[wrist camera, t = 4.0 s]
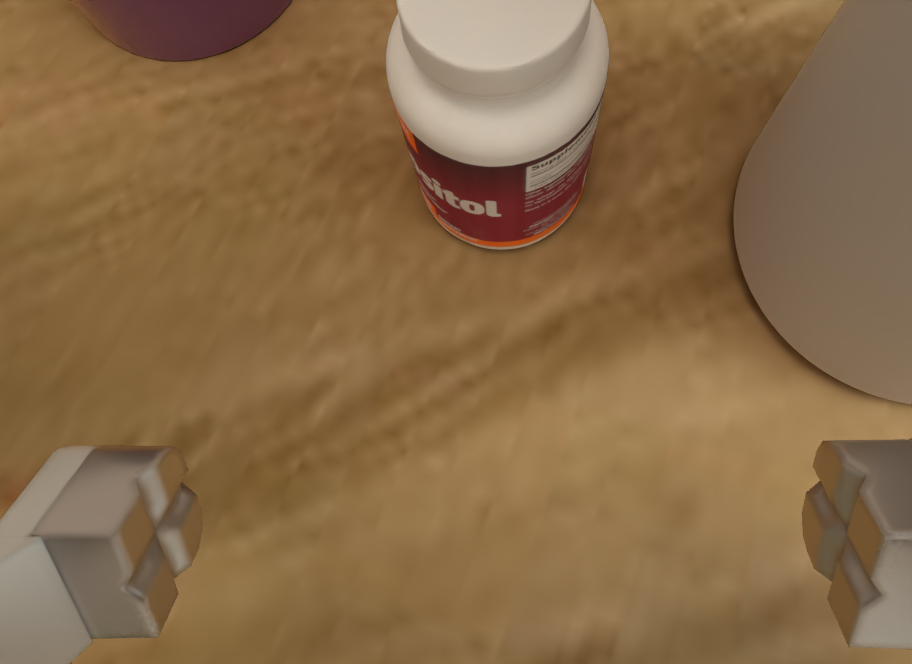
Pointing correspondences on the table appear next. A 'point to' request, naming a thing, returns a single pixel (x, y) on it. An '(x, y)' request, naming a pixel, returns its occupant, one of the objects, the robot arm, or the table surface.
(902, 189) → the cylinder vase
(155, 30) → the jar
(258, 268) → the table surface
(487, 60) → the pill bottle
